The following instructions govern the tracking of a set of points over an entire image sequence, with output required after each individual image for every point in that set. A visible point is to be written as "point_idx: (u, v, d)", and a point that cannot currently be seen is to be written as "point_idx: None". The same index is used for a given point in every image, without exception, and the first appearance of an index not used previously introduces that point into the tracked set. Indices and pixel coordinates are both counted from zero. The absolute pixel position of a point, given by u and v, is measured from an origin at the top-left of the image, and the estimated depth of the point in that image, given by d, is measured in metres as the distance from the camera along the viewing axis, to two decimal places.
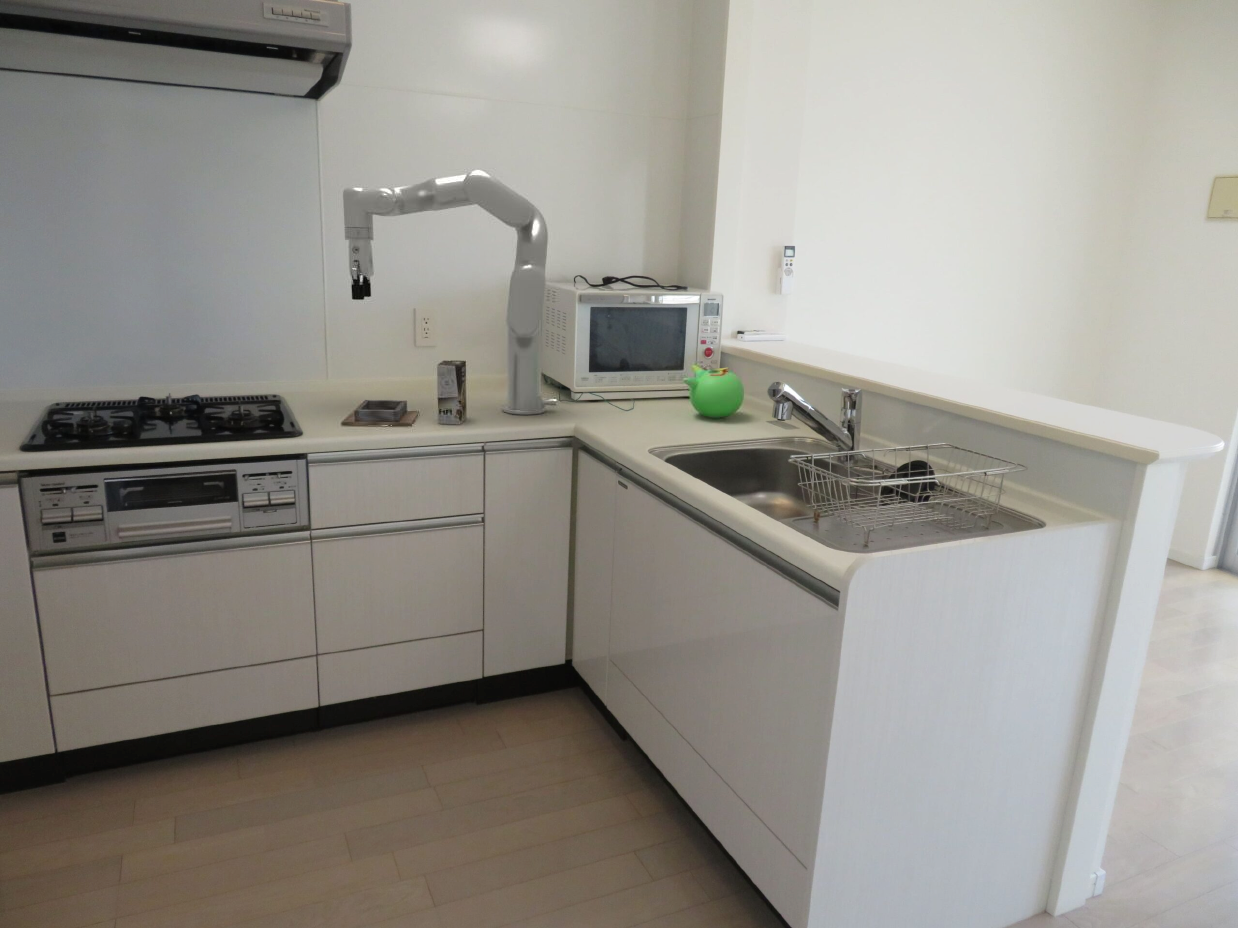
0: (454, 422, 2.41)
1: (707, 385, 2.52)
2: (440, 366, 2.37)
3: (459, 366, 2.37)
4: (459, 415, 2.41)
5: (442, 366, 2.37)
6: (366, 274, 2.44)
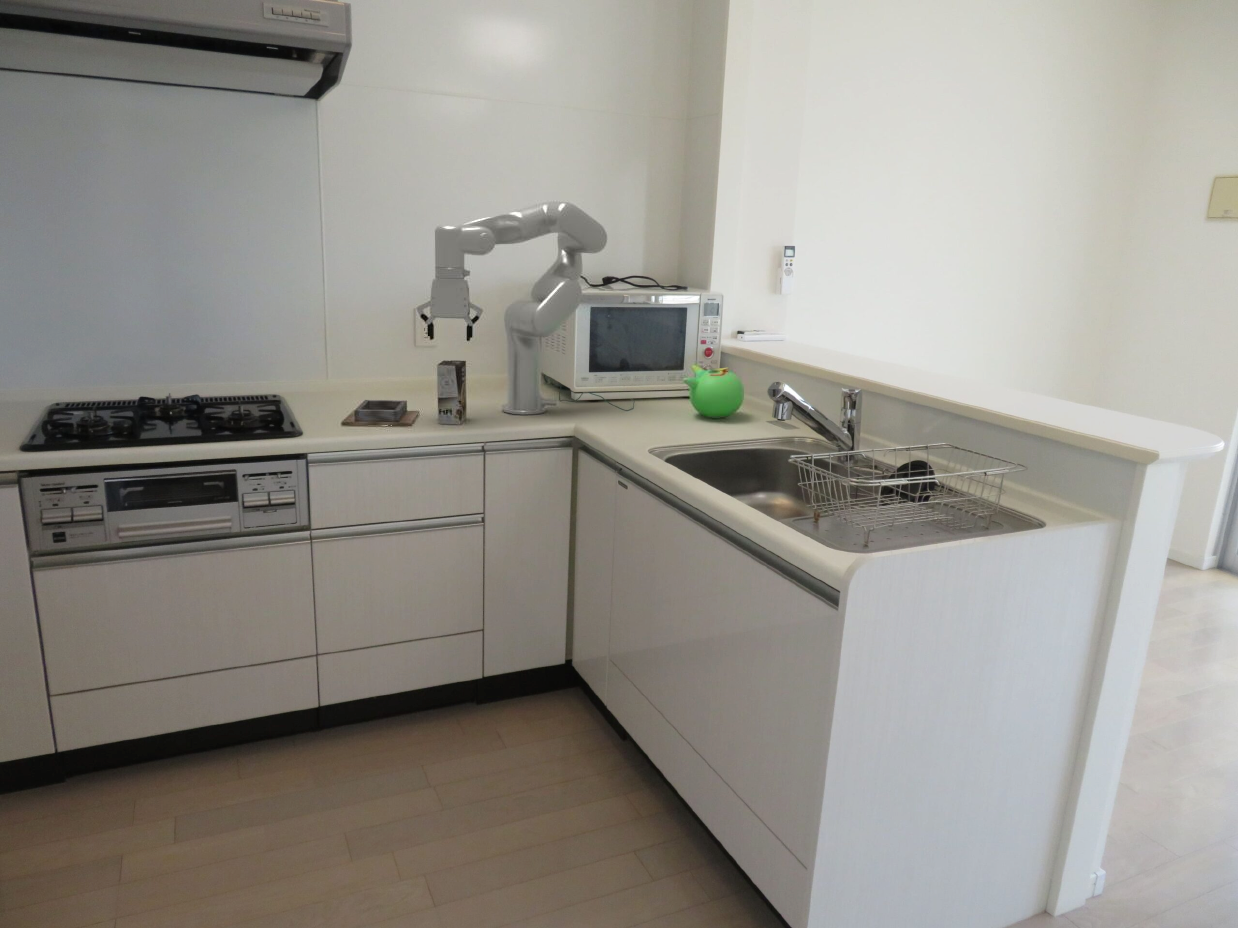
0: (454, 422, 2.41)
1: (707, 385, 2.52)
2: (440, 366, 2.37)
3: (459, 366, 2.37)
4: (459, 415, 2.41)
5: (442, 366, 2.37)
6: None
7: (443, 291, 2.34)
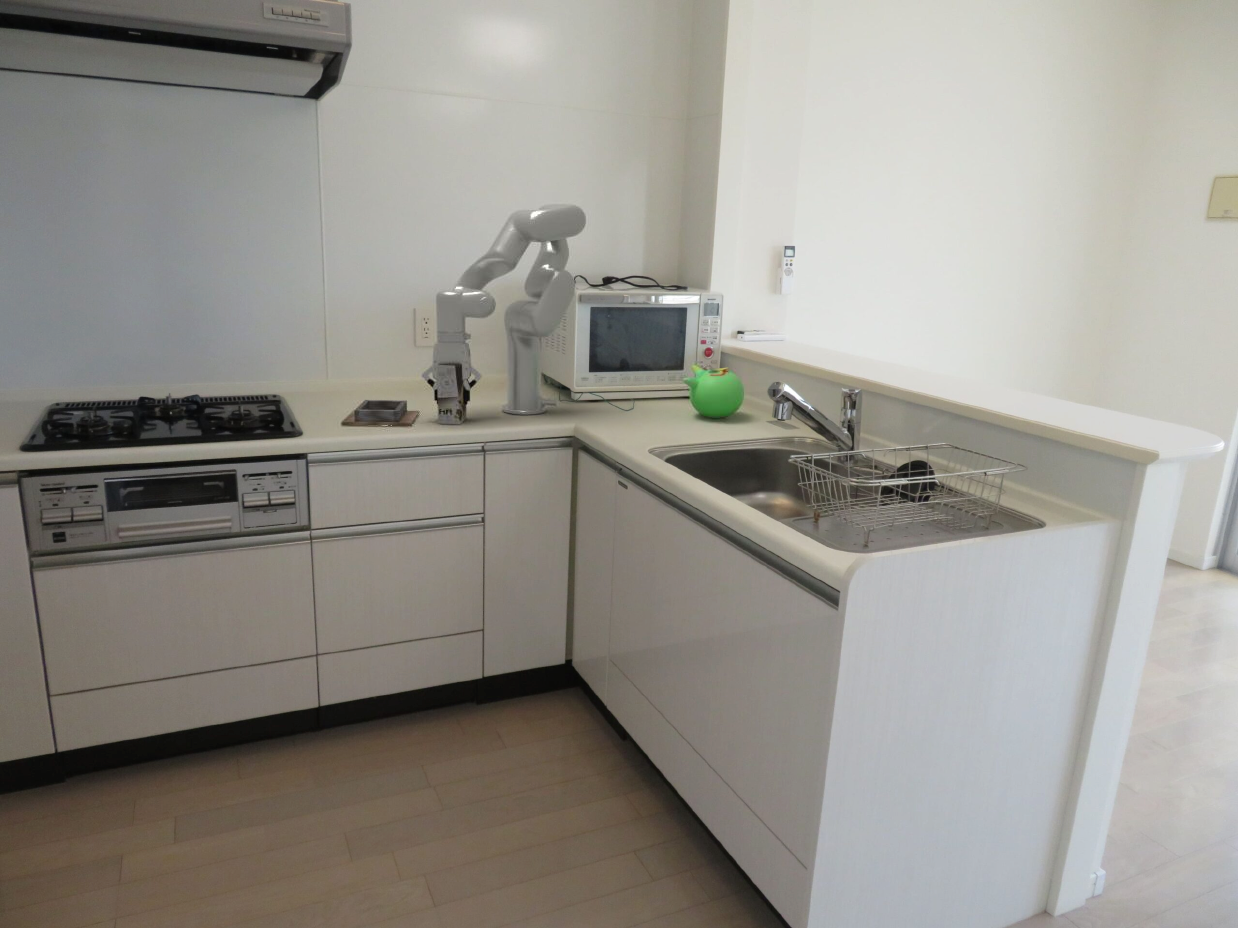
0: (454, 422, 2.41)
1: (707, 385, 2.52)
2: (440, 366, 2.37)
3: (459, 366, 2.37)
4: (459, 415, 2.41)
5: (442, 366, 2.37)
6: None
7: (445, 355, 2.38)
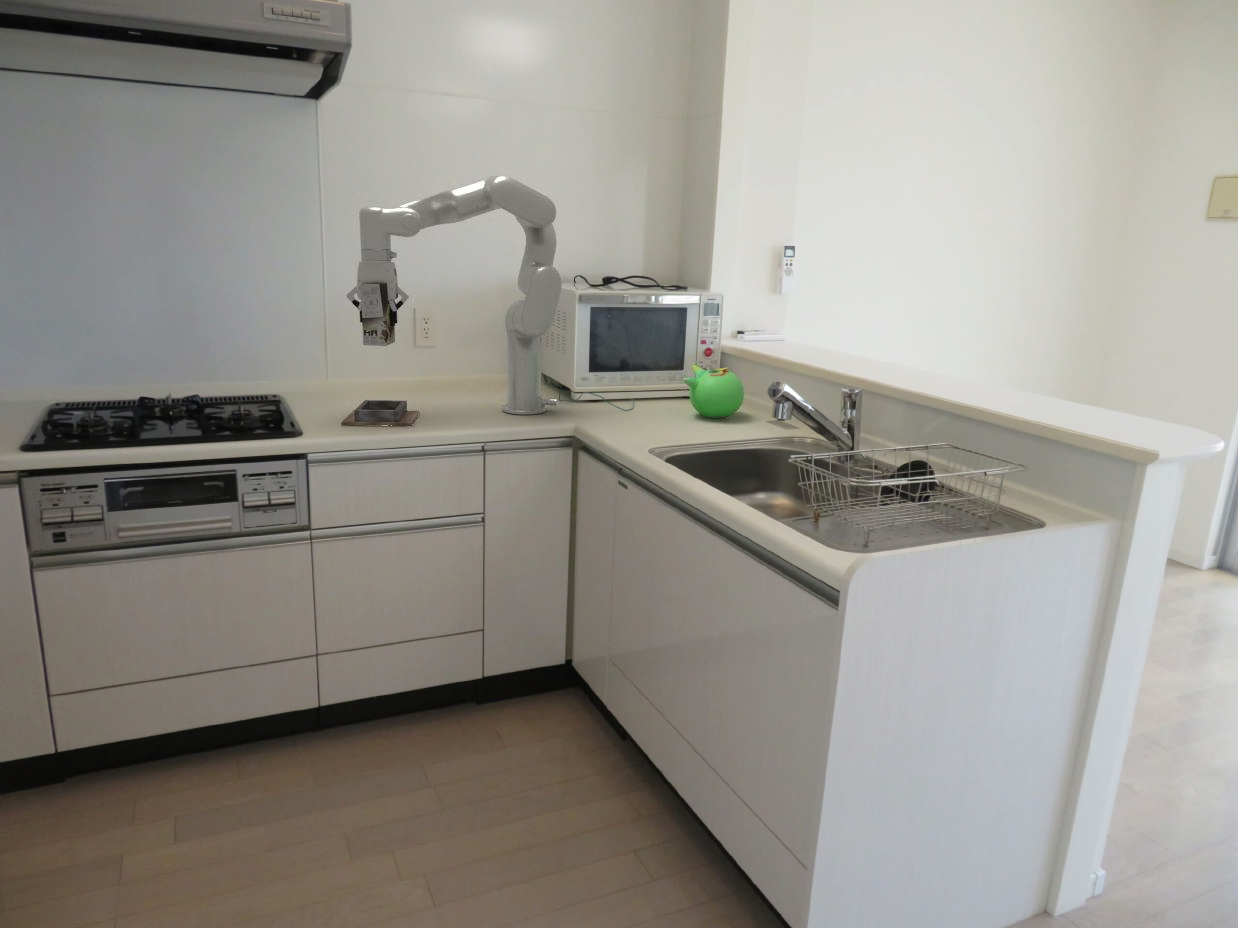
0: (380, 343, 2.34)
1: (707, 385, 2.52)
2: (364, 285, 2.30)
3: (383, 285, 2.30)
4: (385, 336, 2.34)
5: (366, 285, 2.30)
6: None
7: (369, 274, 2.31)
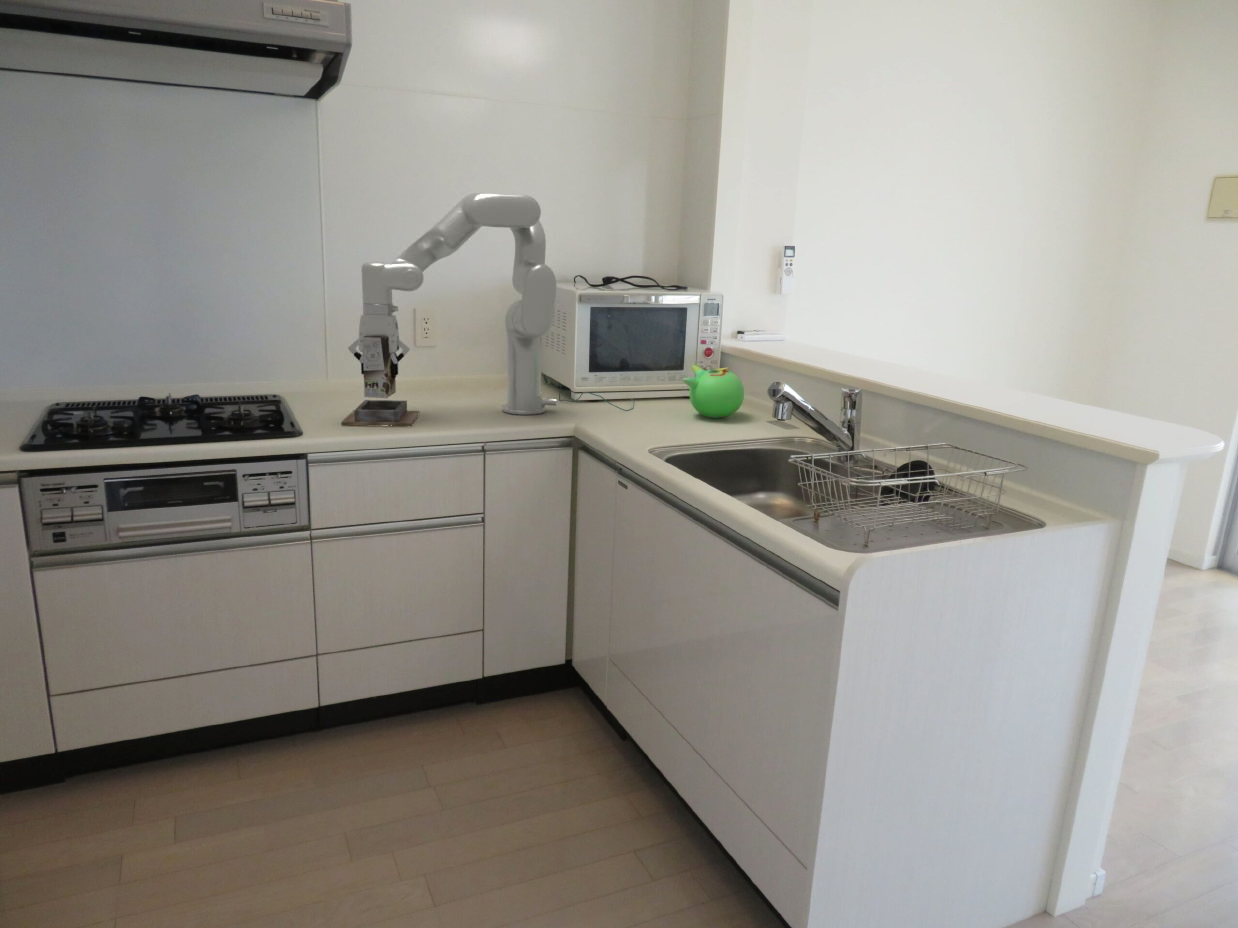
0: (381, 396, 2.37)
1: (707, 385, 2.52)
2: (365, 338, 2.34)
3: (385, 338, 2.34)
4: (386, 388, 2.37)
5: (367, 338, 2.34)
6: None
7: (371, 327, 2.35)
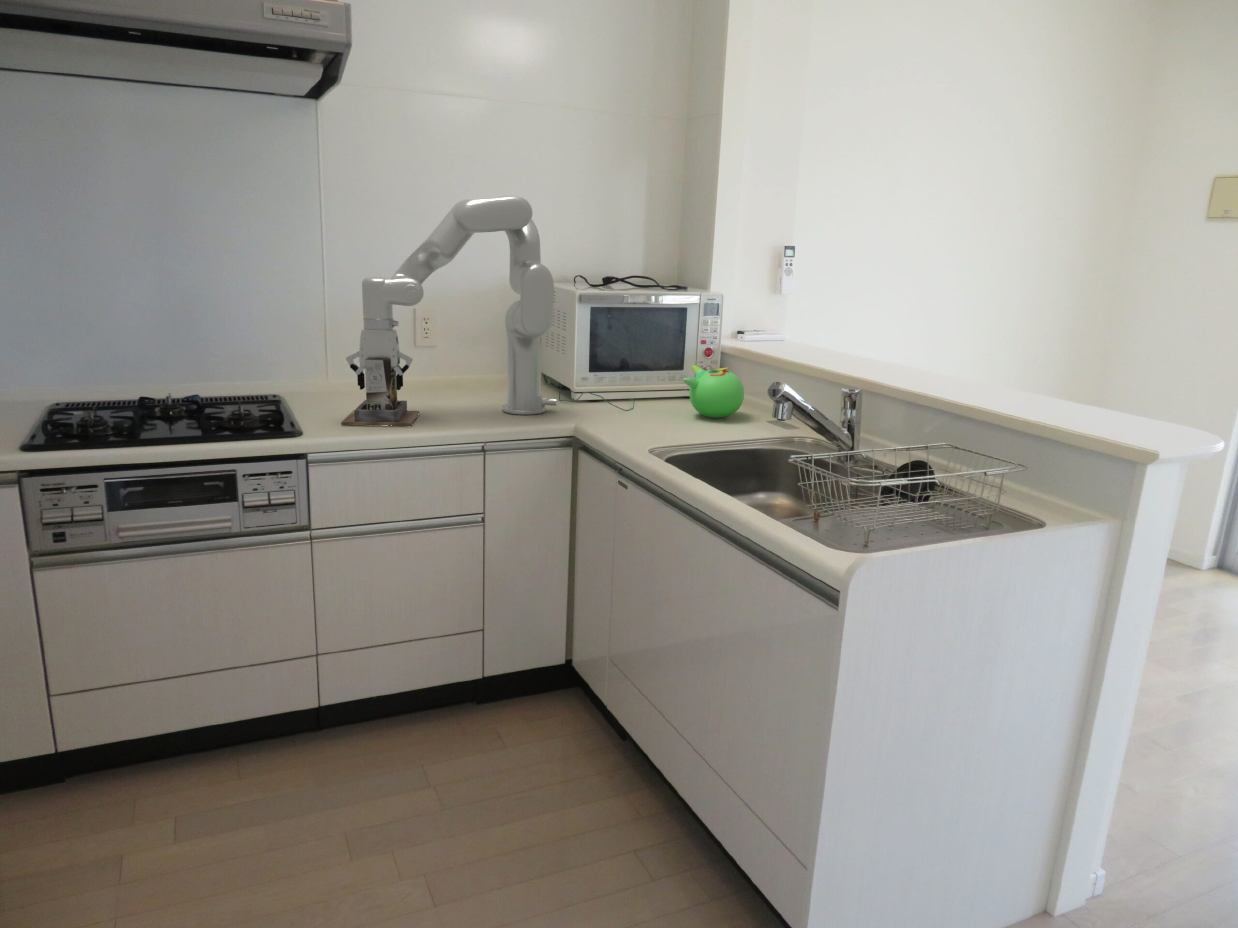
0: None
1: (707, 385, 2.52)
2: (368, 361, 2.36)
3: (387, 361, 2.36)
4: None
5: (370, 361, 2.36)
6: None
7: (372, 342, 2.36)
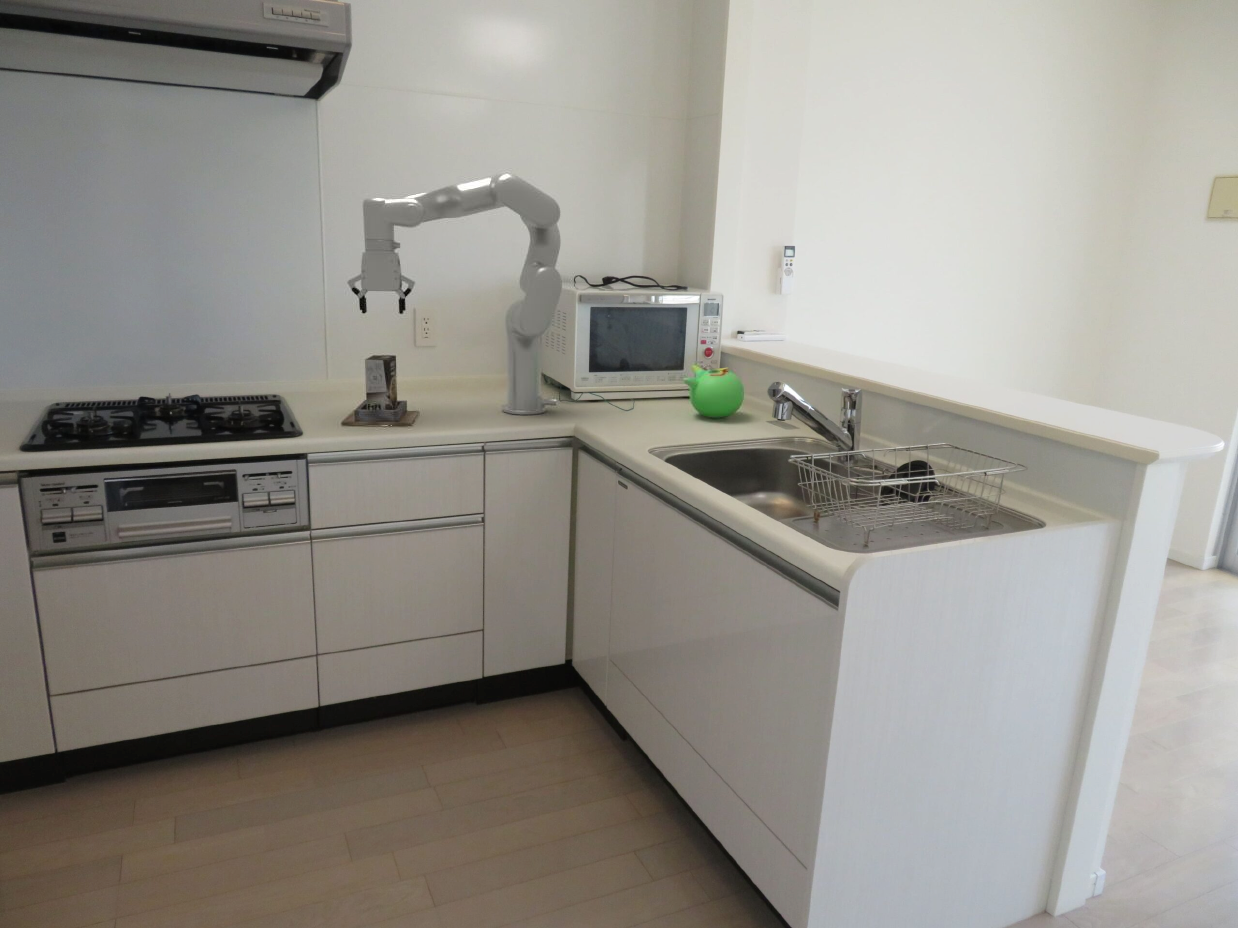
0: None
1: (707, 385, 2.52)
2: (368, 361, 2.36)
3: (387, 361, 2.36)
4: None
5: (370, 361, 2.36)
6: None
7: (373, 264, 2.33)
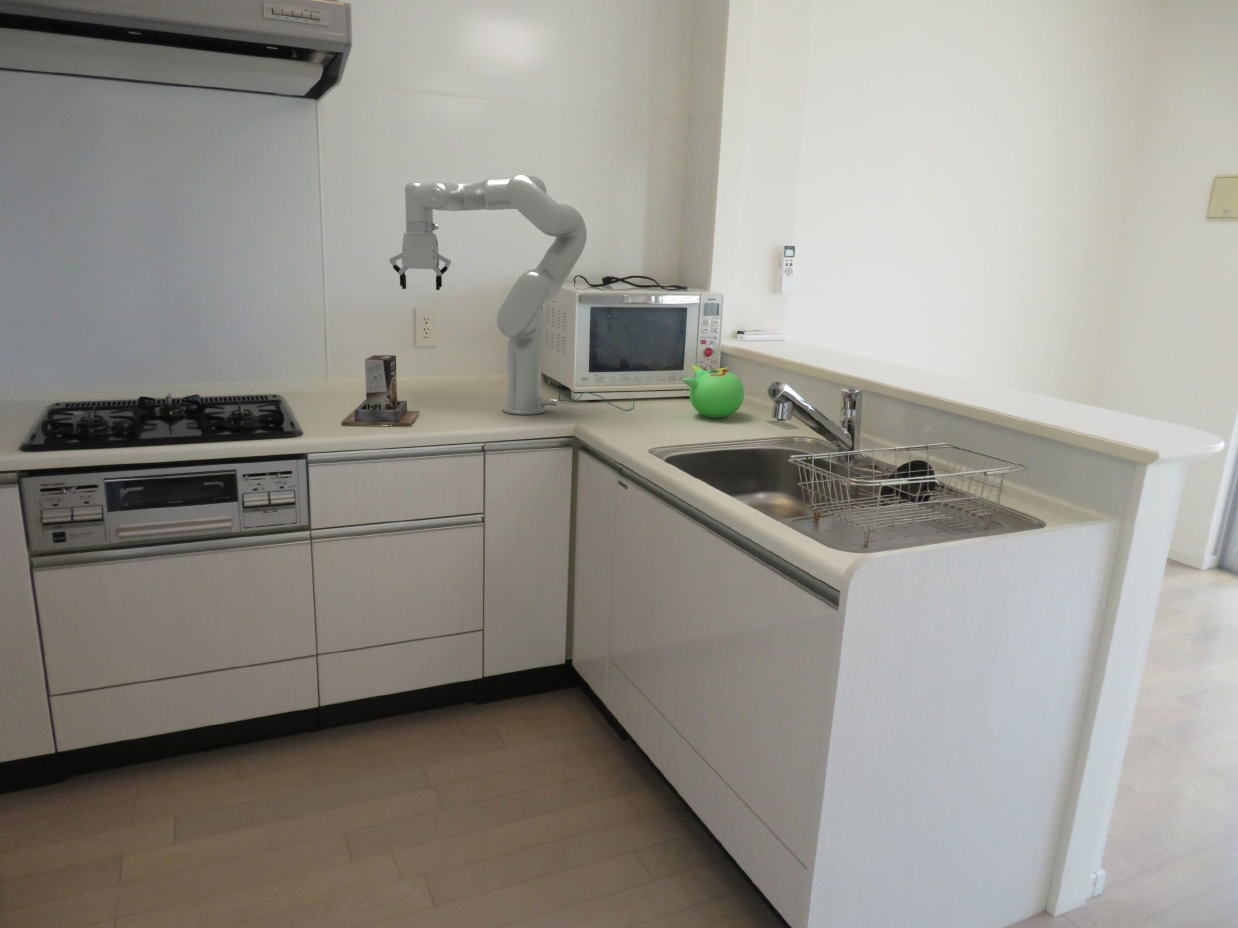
0: None
1: (707, 385, 2.52)
2: (368, 361, 2.36)
3: (387, 361, 2.36)
4: None
5: (370, 361, 2.36)
6: None
7: (414, 244, 2.54)
